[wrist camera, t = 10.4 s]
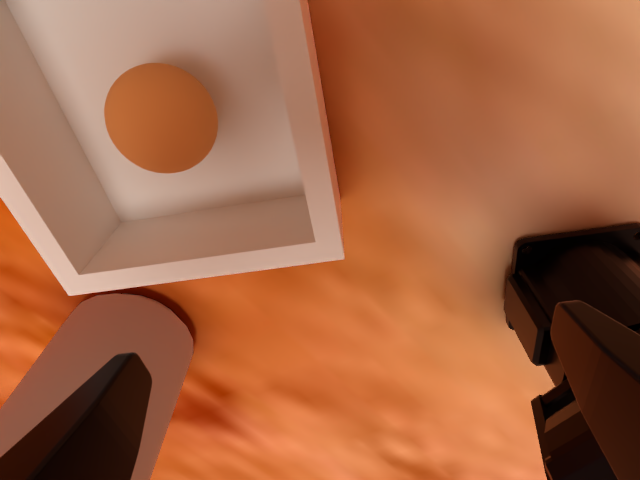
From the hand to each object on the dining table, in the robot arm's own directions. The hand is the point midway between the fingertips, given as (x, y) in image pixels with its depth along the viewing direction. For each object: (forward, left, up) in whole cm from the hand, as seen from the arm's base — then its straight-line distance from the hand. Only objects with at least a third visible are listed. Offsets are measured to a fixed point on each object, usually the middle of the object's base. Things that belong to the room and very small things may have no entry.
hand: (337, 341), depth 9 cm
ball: (+6, -3, -9) cm, 11 cm away
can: (+14, +10, -12) cm, 21 cm away
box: (+6, -3, -12) cm, 14 cm away
